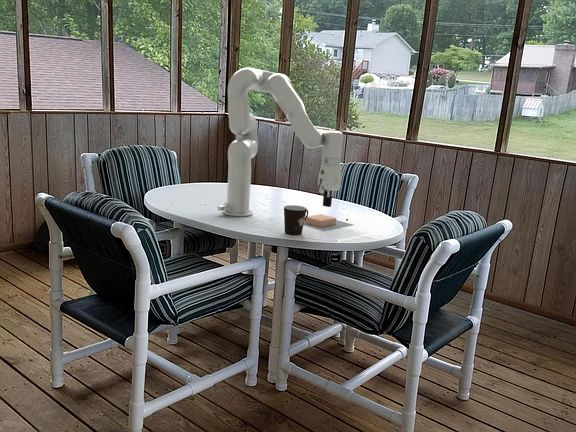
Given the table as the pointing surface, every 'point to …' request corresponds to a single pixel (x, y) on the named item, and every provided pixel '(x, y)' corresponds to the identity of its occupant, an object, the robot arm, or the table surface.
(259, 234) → the table surface
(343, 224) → the mat
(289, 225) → the coffee mug
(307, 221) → the wooden picture frame
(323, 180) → the robot arm
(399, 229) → the table surface
